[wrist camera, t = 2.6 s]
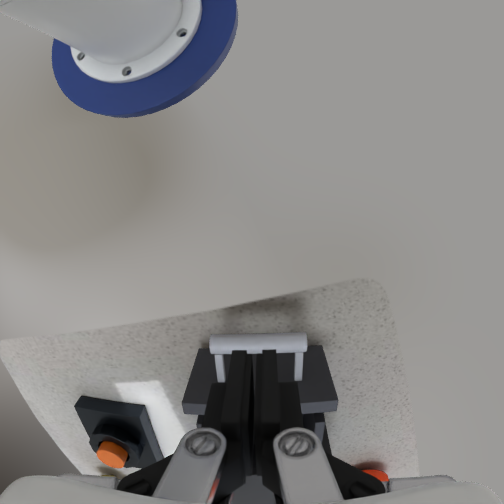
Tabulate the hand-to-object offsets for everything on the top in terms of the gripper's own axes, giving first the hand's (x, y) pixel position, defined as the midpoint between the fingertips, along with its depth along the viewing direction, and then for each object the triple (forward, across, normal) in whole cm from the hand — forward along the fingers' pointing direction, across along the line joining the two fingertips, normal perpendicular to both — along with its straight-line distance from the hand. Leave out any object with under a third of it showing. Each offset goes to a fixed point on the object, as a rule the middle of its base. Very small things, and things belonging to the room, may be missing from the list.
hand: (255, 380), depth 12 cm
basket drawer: (+15, 0, +13) cm, 20 cm away
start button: (+13, +18, +22) cm, 32 cm away
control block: (+16, +18, +22) cm, 33 cm away
